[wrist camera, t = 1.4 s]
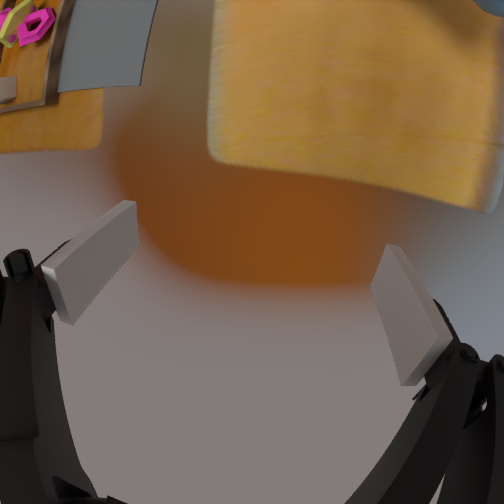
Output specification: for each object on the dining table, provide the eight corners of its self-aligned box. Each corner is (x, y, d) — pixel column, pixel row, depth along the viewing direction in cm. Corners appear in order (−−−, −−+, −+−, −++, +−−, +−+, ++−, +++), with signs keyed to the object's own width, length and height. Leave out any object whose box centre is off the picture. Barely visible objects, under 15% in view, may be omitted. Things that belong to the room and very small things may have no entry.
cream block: (5, 83, 31) (-11, 85, 27) (16, 75, 30) (-1, 77, 26) (5, 103, 33) (-11, 106, 29) (16, 96, 33) (-1, 99, 28)
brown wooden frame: (15, -5, 19) (6, -6, 15) (93, -43, 18) (83, -48, 15) (-7, 115, 34) (-18, 117, 31) (57, 102, 34) (44, 104, 31)
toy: (40, 59, 30) (22, 40, 21) (-9, 46, 22) (-28, 31, 13) (69, 20, 29) (58, -5, 20) (18, 10, 21) (3, -10, 12)
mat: (84, -21, 21) (83, -21, 21) (171, -42, 21) (171, -43, 21) (58, 92, 33) (57, 92, 33) (140, 85, 33) (139, 85, 32)
